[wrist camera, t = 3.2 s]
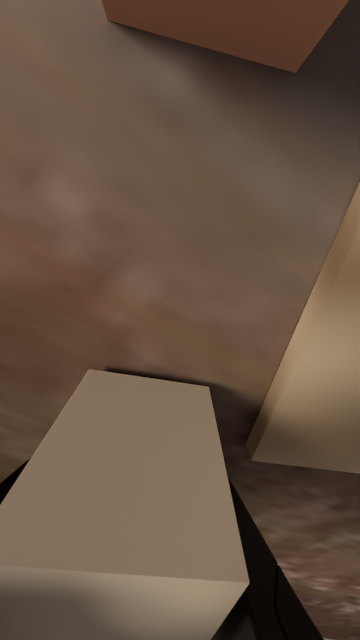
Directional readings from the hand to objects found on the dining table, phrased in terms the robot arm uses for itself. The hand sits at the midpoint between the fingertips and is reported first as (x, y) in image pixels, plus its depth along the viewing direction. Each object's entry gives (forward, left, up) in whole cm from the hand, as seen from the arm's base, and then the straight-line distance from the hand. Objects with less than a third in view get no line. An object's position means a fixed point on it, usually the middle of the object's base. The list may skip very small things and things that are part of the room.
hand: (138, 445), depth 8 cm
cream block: (0, 0, -1) cm, 1 cm away
